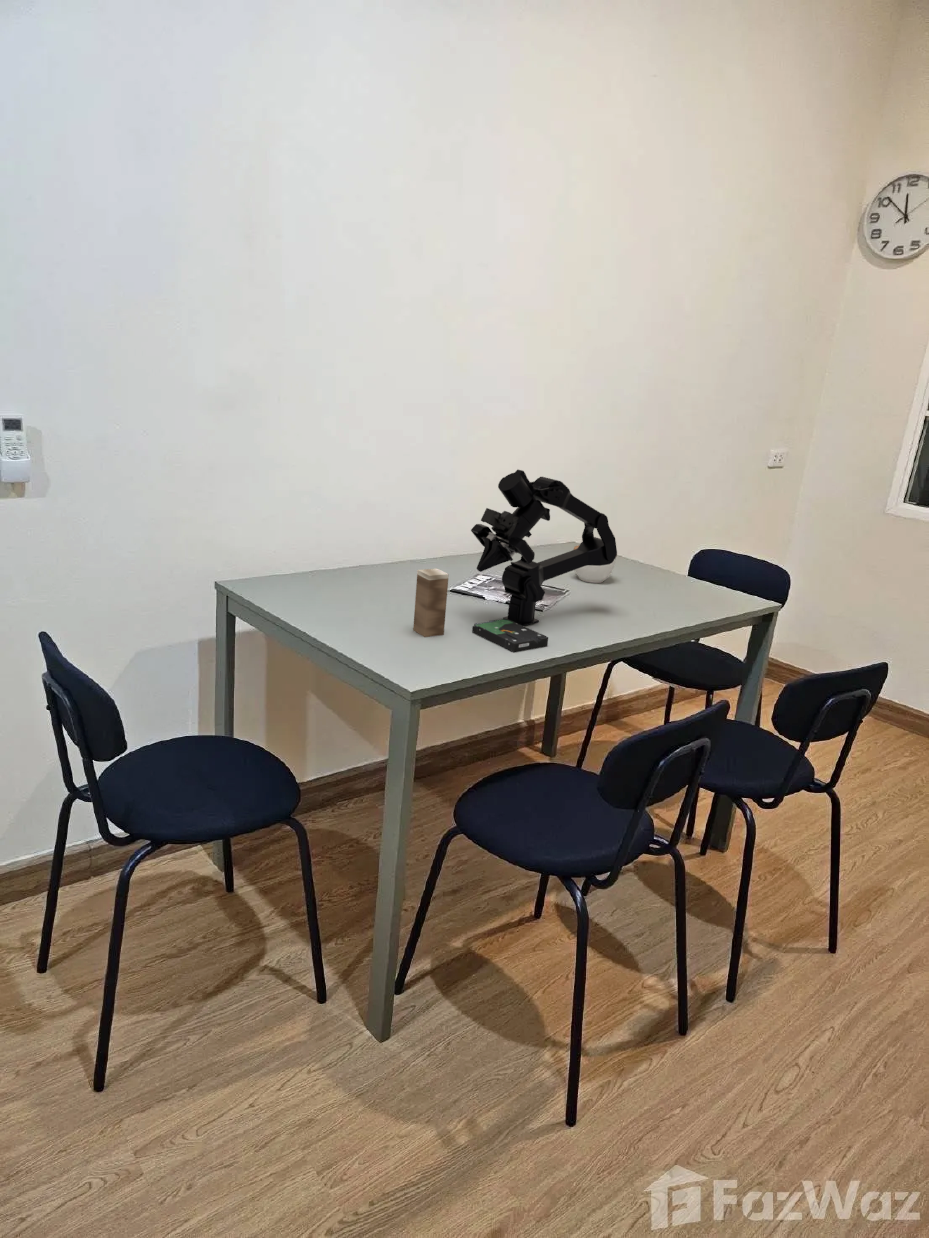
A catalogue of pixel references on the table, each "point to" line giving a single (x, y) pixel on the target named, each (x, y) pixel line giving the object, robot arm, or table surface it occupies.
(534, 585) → the robot arm
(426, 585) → the walnut block
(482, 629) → the disk drive
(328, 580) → the table surface
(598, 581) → the lidded bowl
